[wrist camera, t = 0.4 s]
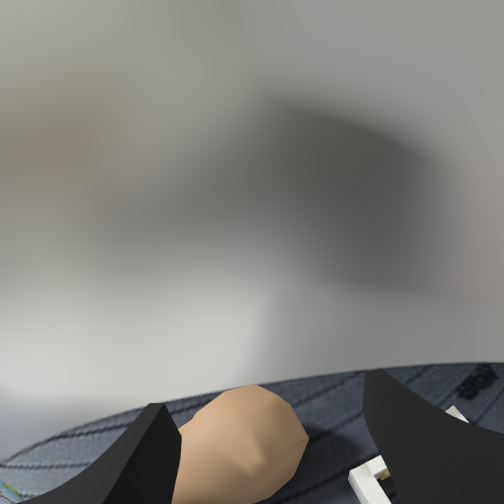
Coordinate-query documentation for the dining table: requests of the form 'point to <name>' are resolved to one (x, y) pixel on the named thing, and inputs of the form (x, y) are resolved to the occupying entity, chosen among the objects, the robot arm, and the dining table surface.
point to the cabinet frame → (377, 476)
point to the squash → (239, 449)
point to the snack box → (8, 494)
